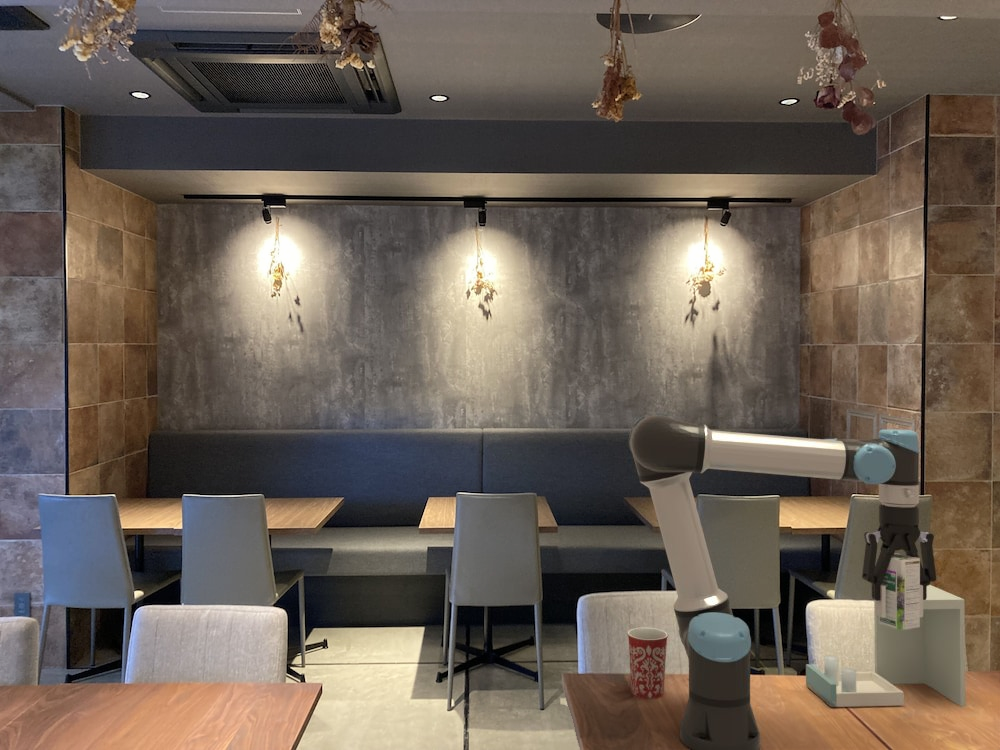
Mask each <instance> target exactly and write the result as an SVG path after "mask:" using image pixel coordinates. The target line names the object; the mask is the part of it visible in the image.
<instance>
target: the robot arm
mask: <svg viewBox="0 0 1000 750" xmlns="http://www.w3.org/2000/svg"><path fill="white" fill-rule="evenodd" d="M628 446H629V449H630V452H631V453H632V457H633V460H634V463H635V468H636V471H637V474H638V478H639V483H640V484H642V485H644V486H645V487H647V488H648V490H649V492H650V496H651V500H652V503H653V507H654V508H653V509H654V511H655V515H656V519H657V521H658V526H659V530H660V533H661V537H662V541H663V545H664V549H665V553H666V556H667V560H668V565H669V568H670V571H671V574H672V579H673V583H674V586H675V590H676V594H677V598H676V600H675V602H674V604H673V606H672V607H673V610H674V614H675V618H676V622H677V625H678V635H679V638H680V641H681V643H682V646H683V647H684V650H685V653H686V656H687V660H688V700H687V704H686V707H685V709H684V711H683V712H684V713H683V716H682V719H681V721H680V724H679V738H680V741H681V742H682V744H683V745H685V746H686V747H687V748H689V749H691V750H759V749H760V747H761V733H760V729H759V727H758V724H757V719H756V717H755V713H754V710H753V708H752V705H751V646H752V638H751V635H750V629H749V626H748V624H747V623H746V622H745V621H744V620H743V619H741V618H739V617H736V616H734V615H733V610H732V606H731V604H730V600H729V596H728V594H727V593H726V592H724V591H723V590H722V589H720V588H719V586H718V583H717V580H716V579H717V578H716V575H715V572H714V569H713V568H714V567H713V565H712V561H711V558H710V552H709V549H708V546H707V541H706V538H705V534H704V530H703V526H702V523H701V519H700V515H699V512H698V508H697V505H696V501H695V496H694V494H693V490H692V486H691V483H690V477H691V476H692V473H694V474H695V473H697V474H703V473H704V472H705V471H706V470H708V469H710V470H723V471H734V472H735V471H736V472H745V473H746V472H748V473H758V474H771V475H782V476H793V477H795V476H796V477H804V478H807V477H808V478H818V479H819V478H820V479H831V480H840V481H841V480H842V481H848V482H849V481H850V482H862V483H864V484H867V485H878V502H880V504H879V506H878V523H879V526H878V529H877V531H874V532H868V531H867V532H865V533H864V535H863V536H864V542H865V547H864V548H865V549H864V555H863V556H864V558H863V567H862V573H861V574H862V575H861V578H862V579H863V581H866V582H869V583H870V584H871V598H872V600H876V615H878V616H880V617H882V618H886V586H885V585H883V584H882V582H883V579H884V576H885V573H886V571H887V568H888V565H889V563H890V560H891V557H892V555H894V553H896V551H900V550H902V551H904V553H905V554H906V555H907V556H910V557H915V558H920V556H919V554H918V553H919V551H918V548H917V545H916V542H917V541H918V540H919V543H920V544H919V545H920V554H921V561H920V617H923V600H926V598H927V586H928V585H931V583H932V582H936V581H937V573H936V572H937V571H936V567H935V566H936V565H935V556H934V555H935V554H934V549H933V544H934V538H935V536H934V534H933V533H931V532H927V531H921V530H920V528H919V524H920V508H919V506H918V504H919V503H920V481H919V478H920V477H919V476H920V474H919V473H920V455H921V452H920V443H919V435H918V433H917V432H916V431H914V430H911V429H881V430H879V432H878V436H877V438H874V439H873V438H871V439H865V438H837V437H835V438H824V439H823V438H822V439H821V438H810V437H809V438H807V437H797V436H783V435H772V434H771V435H770V434H761V433H749V432H748V433H747V432H734V431H723V430H715V429H714V430H711V429H710V428H709V427H708V426H707V425H706V424H704V423H703V424H702V423H701V424H700V423H691V422H688V421H683V420H679V419H676V418H674V417H673V416H671V415H669V414H666V413H662V412H656V413H648V414H646V415H643V416H642V417H641V418H639V419H637V420H636V421H635V423H634V424H633V425H632V427H631V429H630V431H629V436H628ZM879 539H881V541H882V543H881V545H880V552H879V554H878V558H877V553H878V543H879V542H880V541H879Z"/></svg>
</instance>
